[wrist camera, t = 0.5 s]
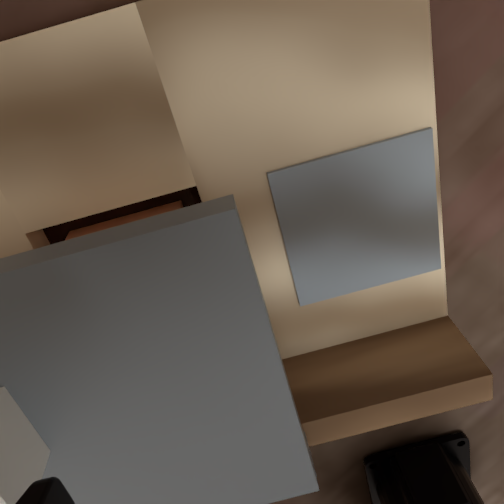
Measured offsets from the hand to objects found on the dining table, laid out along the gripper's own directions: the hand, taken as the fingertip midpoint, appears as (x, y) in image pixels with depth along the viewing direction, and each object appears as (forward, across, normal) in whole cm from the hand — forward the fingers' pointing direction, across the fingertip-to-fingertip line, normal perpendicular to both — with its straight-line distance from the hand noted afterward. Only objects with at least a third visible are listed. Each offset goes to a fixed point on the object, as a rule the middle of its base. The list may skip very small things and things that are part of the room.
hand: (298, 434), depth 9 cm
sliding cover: (+7, +5, +4) cm, 10 cm away
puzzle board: (+13, +2, +1) cm, 13 cm away
